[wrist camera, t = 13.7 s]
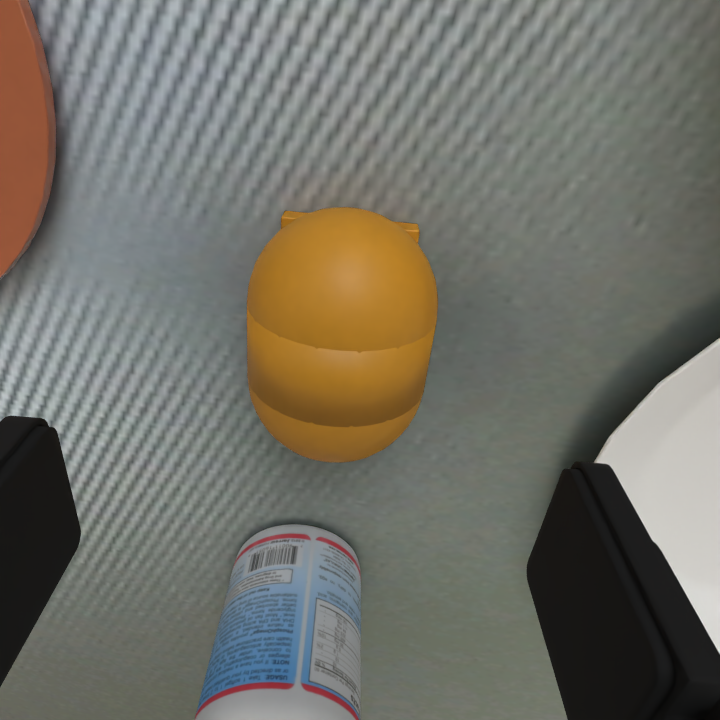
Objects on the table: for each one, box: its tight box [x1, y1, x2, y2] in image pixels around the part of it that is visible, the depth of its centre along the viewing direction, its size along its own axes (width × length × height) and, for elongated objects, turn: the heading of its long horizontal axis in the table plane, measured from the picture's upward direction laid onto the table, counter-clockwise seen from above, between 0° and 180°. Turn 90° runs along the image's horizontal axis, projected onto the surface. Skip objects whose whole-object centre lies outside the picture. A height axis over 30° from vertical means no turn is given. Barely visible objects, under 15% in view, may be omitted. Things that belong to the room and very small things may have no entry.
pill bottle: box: [195, 524, 361, 720], centre depth 22 cm, size 6×6×11 cm
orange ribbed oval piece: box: [247, 207, 438, 462], centre depth 17 cm, size 8×6×6 cm
